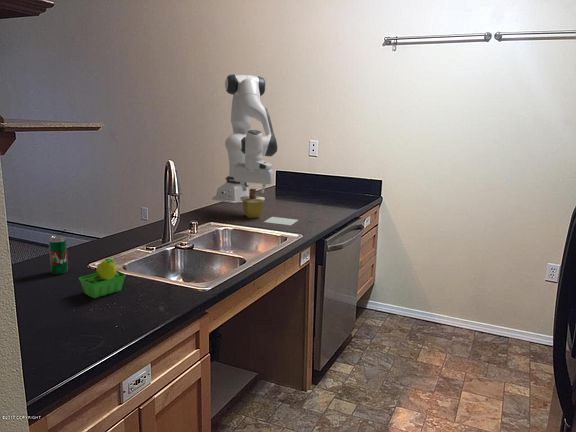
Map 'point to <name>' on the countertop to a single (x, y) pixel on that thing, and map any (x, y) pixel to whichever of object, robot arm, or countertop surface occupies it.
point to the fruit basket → (103, 280)
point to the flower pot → (253, 209)
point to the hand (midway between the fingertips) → (253, 191)
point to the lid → (252, 197)
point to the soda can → (58, 255)
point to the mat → (281, 221)
